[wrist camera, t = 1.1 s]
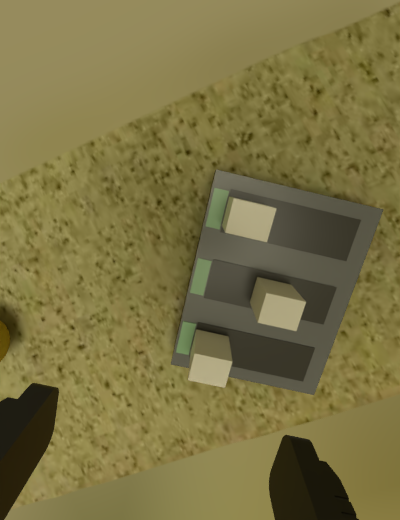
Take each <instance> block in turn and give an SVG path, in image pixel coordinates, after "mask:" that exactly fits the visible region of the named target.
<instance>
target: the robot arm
mask: <svg viewBox="0 0 400 520" xmlns="http://www.w3.org/2000/svg"><path fill="white" fill-rule="evenodd" d="M58 395H59V390H58V388H56V387H51V386H46V385H42V384H37V383H32V384H31V385H30V386H29V387H28V388H27V389H26V390H25V391H24V393H23V394H22V395H21V396H20V397H19V398H18V399H14V398H9V397H8V398H6V399H4V400H2V401H1V402H0V520H4V519H5V517H6V516H7V514H8V512H9V511H10V509H11V507H12V506H13V504H14V502H15V501H16V499H17V497H18V496H19V494H20V492H21V491H22V489H23V487H24V486H25V484H26V482H27V481H28V479H29V477H30V476H31V474H32V472H33V471H34V469H35V468H36V466H37V464H38V463H39V461H40V459H41V458H42V456H43V454H44V453H45V451H46V449H47V447H48V445H49V442H50V440H51V437H52V434H53V431H54V425H55V417H56V410H57V402H58ZM269 491H270V498H271V503H272V508H273V512H274V517H275V520H359V519H357V518H356V513H355V511H354V508H353V506H352V504H351V502H349V498H348V495H347V493H346V491H345V489H344V487H343V485H342V483H341V480H340V479H339V477H338V476H337V475H336V474H335V472H334V471H333V470H332V469H331V467H330V466H329V465H328V464H327V462H324V461H319V458H318V456H317V454H316V451H315V449H314V447H313V445H312V442H311V441H310V440H308V439H304V438H299V437H294V436H289V435H285V436H284V437H283V438H282V441H281V444H280V447H279V450H278V452H277V455H276V458H275V461H274V463H273V466H272V469H271V472H270V478H269Z"/></svg>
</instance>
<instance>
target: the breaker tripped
mask: <svg viewBox="0 0 400 520" xmlns="http://www.w3.org/2000/svg"><path fill="white" fill-rule="evenodd" d="M250 304H251V307H252V309H253V312H254V315H255V317H256V320H257V322H258V323H261V324H266V325H270V326H275V327H279V328H284V329H288V330H293V331H297V328H298V325H299V322H300V319H301V316H302V313H303V310H304V307H305V304H306V301H305V300H304V299H303V298H302V297H301V295H300V294H299V293H298V292H297V291H296V290H295V289H294V287H293V286H292V285H291V284H286V283H282V282H277V281H273V280H269V279H264V278H260V277H257V280H256V283H255V286H254V290H253V293H252V297H251V300H250Z"/></svg>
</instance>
